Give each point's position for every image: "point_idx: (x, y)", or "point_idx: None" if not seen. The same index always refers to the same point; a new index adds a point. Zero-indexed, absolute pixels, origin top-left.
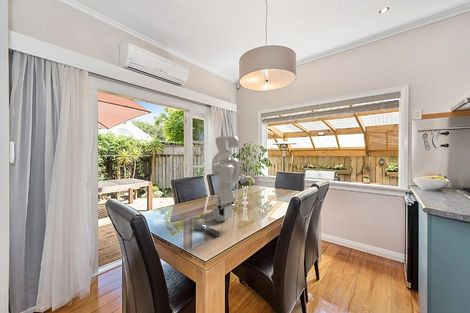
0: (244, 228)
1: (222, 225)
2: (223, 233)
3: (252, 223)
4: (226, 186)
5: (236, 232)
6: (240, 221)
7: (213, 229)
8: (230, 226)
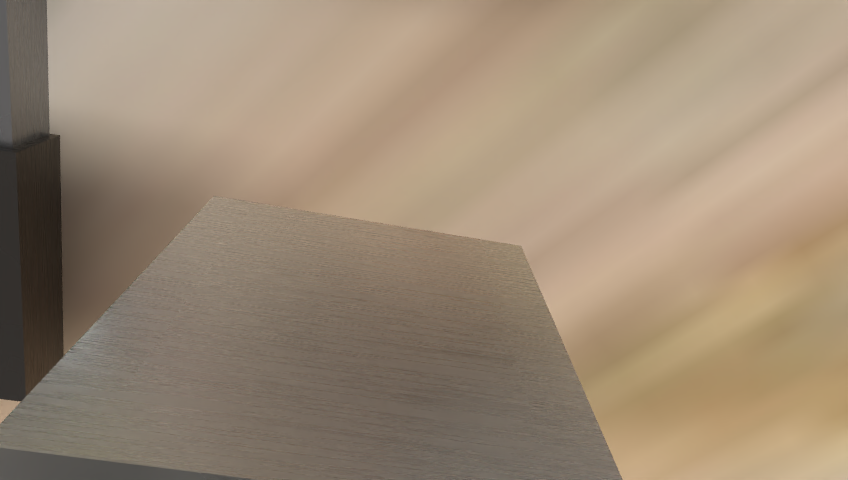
0: None
1: (459, 72)
2: None
3: (832, 433)
4: None
5: None
6: (843, 223)
7: (3, 237)
8: (508, 235)
